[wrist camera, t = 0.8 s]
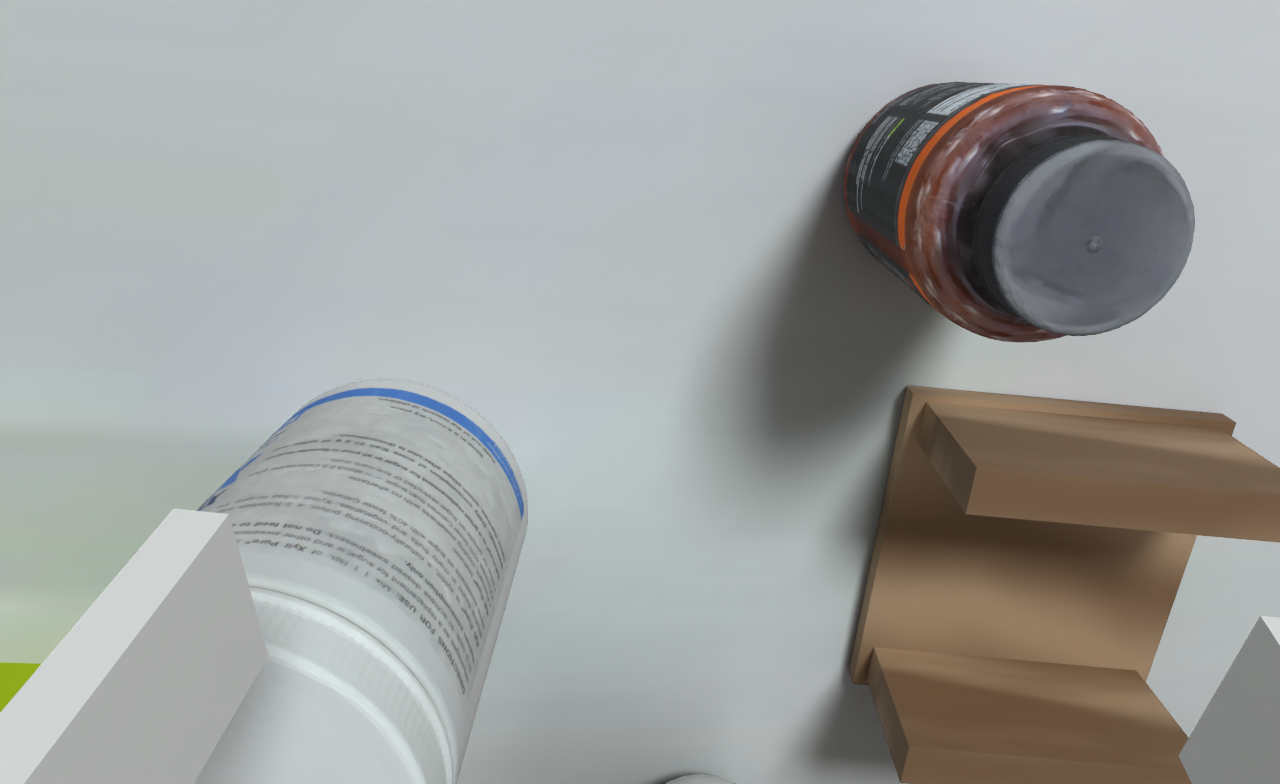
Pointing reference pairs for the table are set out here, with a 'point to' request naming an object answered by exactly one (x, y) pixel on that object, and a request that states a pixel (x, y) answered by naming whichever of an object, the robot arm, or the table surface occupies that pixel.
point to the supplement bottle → (1020, 207)
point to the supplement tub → (370, 586)
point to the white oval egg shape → (700, 780)
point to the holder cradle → (1042, 582)
